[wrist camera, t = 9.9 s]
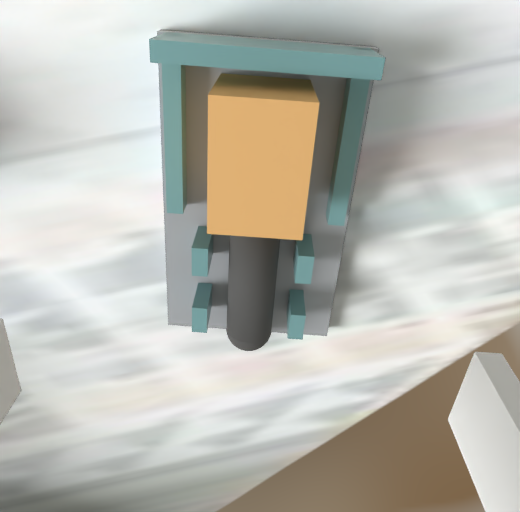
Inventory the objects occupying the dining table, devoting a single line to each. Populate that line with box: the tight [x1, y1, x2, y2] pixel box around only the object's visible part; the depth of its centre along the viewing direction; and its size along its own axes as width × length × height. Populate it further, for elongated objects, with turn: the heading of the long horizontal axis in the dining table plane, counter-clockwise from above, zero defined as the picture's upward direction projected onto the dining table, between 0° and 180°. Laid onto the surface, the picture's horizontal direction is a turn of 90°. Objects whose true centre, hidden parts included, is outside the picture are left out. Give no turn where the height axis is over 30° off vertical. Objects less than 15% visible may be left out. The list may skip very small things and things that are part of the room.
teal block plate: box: [149, 30, 385, 339], centre depth 29 cm, size 20×12×5 cm, turn 176°
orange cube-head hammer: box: [207, 73, 319, 351], centre depth 28 cm, size 18×5×6 cm, turn 176°
